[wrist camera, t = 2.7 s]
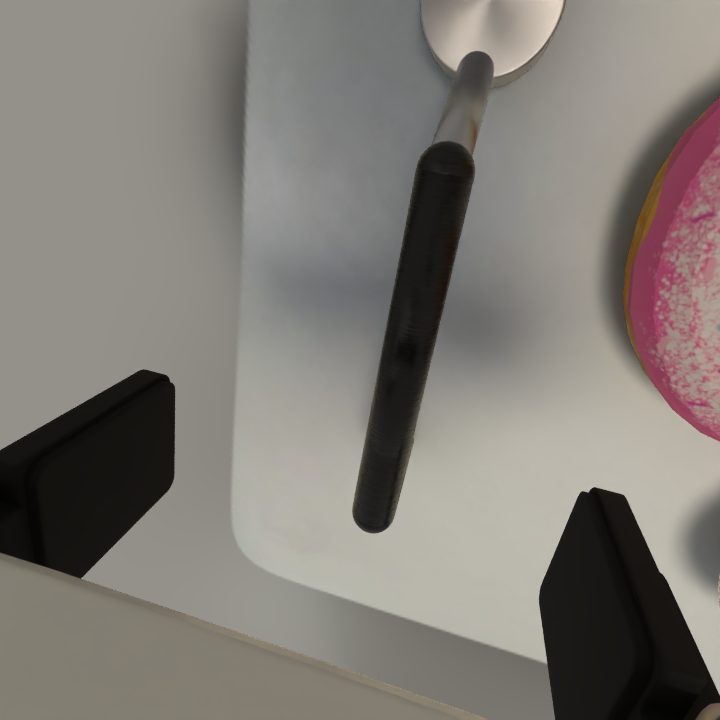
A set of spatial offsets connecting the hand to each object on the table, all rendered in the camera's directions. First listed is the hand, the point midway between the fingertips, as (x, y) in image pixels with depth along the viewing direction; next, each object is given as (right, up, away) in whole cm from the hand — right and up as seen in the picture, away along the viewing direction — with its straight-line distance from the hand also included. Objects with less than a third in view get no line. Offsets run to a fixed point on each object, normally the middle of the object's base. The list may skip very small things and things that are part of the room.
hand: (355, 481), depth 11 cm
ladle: (+3, +8, +9) cm, 12 cm away
